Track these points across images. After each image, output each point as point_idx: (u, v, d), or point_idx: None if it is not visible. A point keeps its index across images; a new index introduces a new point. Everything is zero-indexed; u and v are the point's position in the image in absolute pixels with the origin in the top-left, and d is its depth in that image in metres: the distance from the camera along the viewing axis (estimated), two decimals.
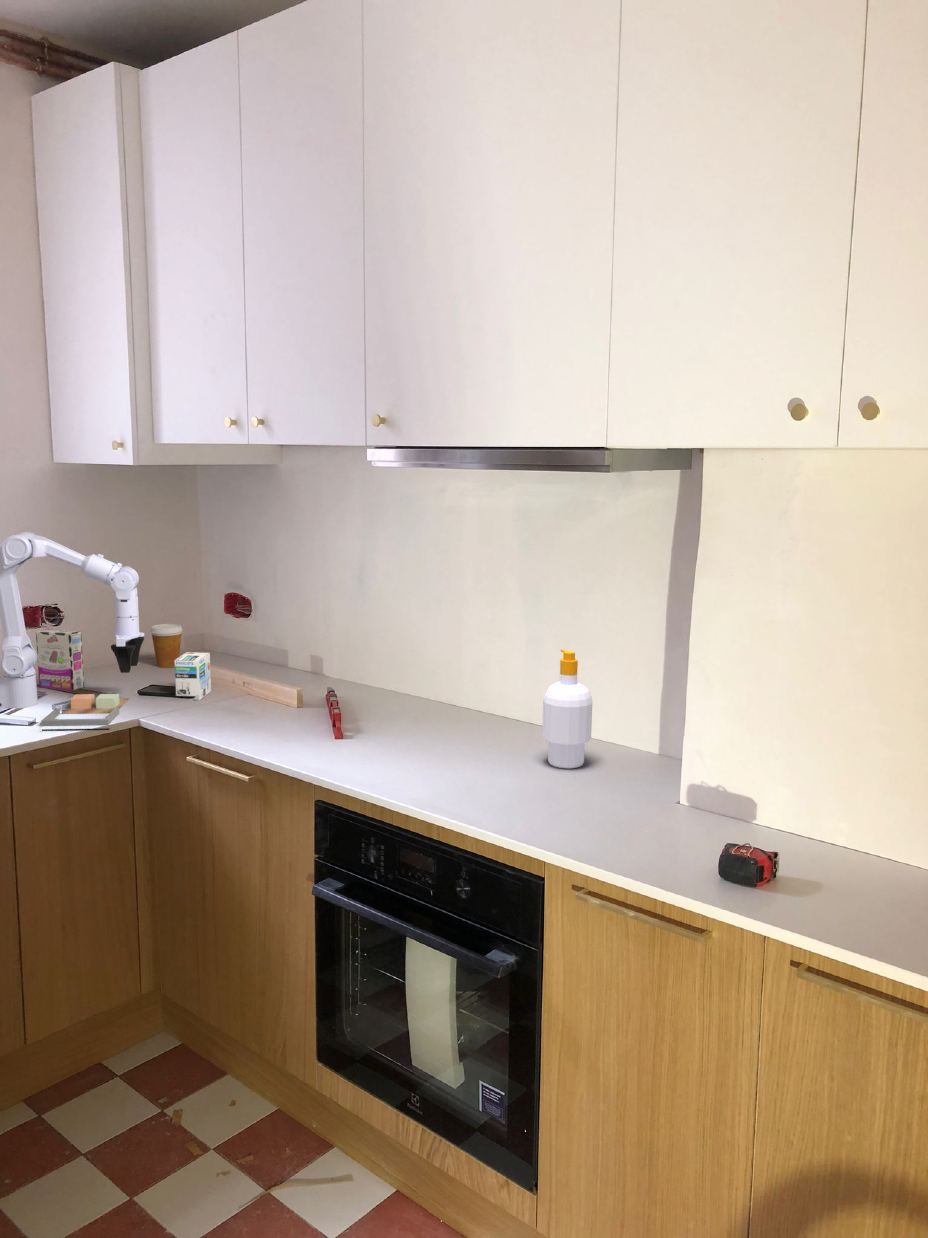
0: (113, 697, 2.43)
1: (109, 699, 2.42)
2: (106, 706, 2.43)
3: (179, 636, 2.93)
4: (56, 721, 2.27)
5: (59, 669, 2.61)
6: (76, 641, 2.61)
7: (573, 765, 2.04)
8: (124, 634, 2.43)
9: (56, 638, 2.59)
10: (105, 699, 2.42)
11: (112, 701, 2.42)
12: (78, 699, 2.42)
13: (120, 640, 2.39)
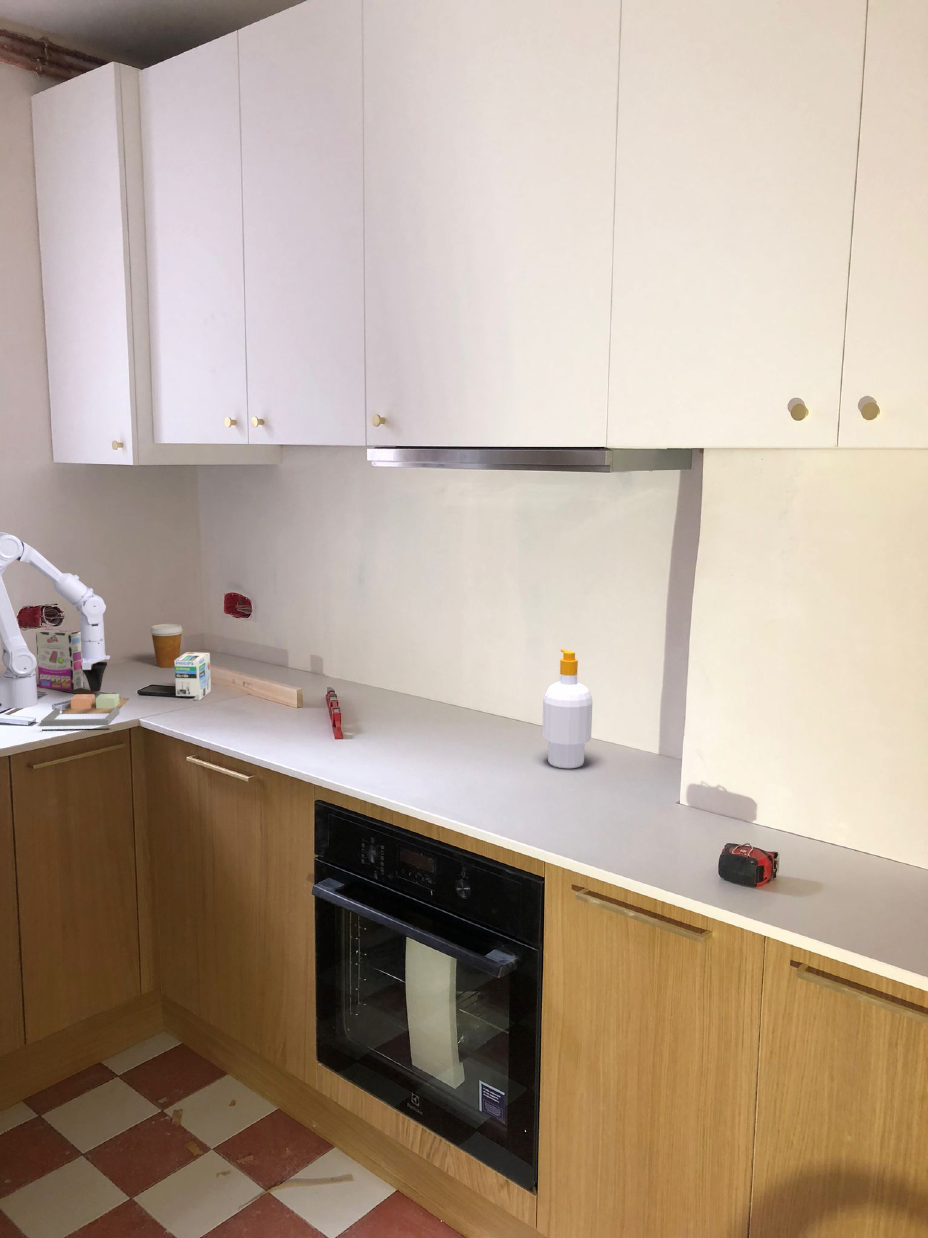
0: (113, 697, 2.43)
1: (109, 699, 2.42)
2: (106, 706, 2.43)
3: (179, 636, 2.93)
4: (56, 721, 2.27)
5: (59, 669, 2.61)
6: (76, 641, 2.61)
7: (573, 765, 2.04)
8: (90, 657, 2.51)
9: (56, 638, 2.59)
10: (105, 699, 2.42)
11: (112, 701, 2.42)
12: (78, 699, 2.42)
13: (86, 664, 2.47)
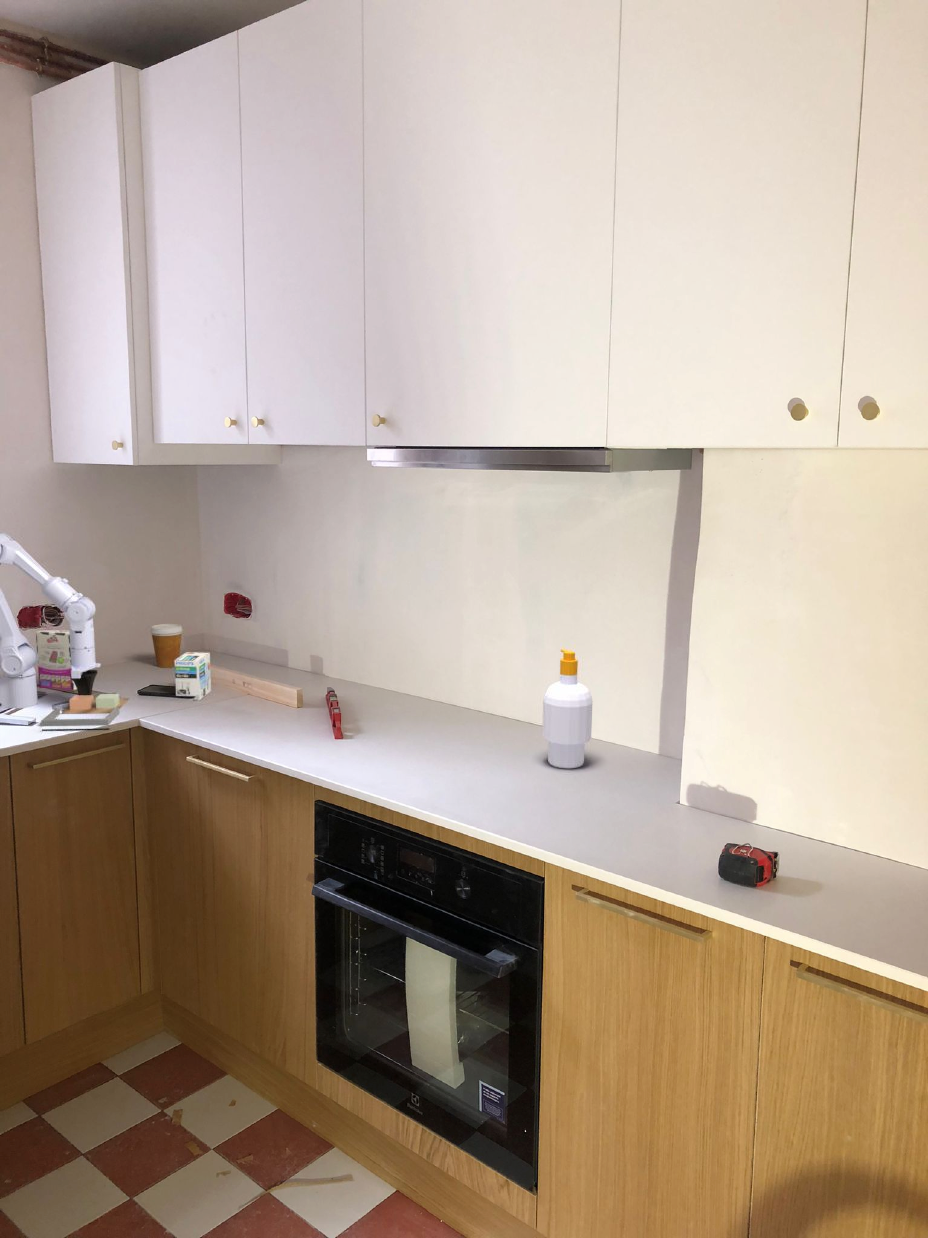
0: (113, 697, 2.43)
1: (109, 699, 2.42)
2: (106, 706, 2.43)
3: (179, 636, 2.93)
4: (56, 721, 2.27)
5: (59, 669, 2.61)
6: None
7: (573, 765, 2.04)
8: (80, 665, 2.42)
9: (56, 638, 2.59)
10: (105, 699, 2.42)
11: (112, 701, 2.42)
12: (77, 700, 2.41)
13: (75, 672, 2.38)
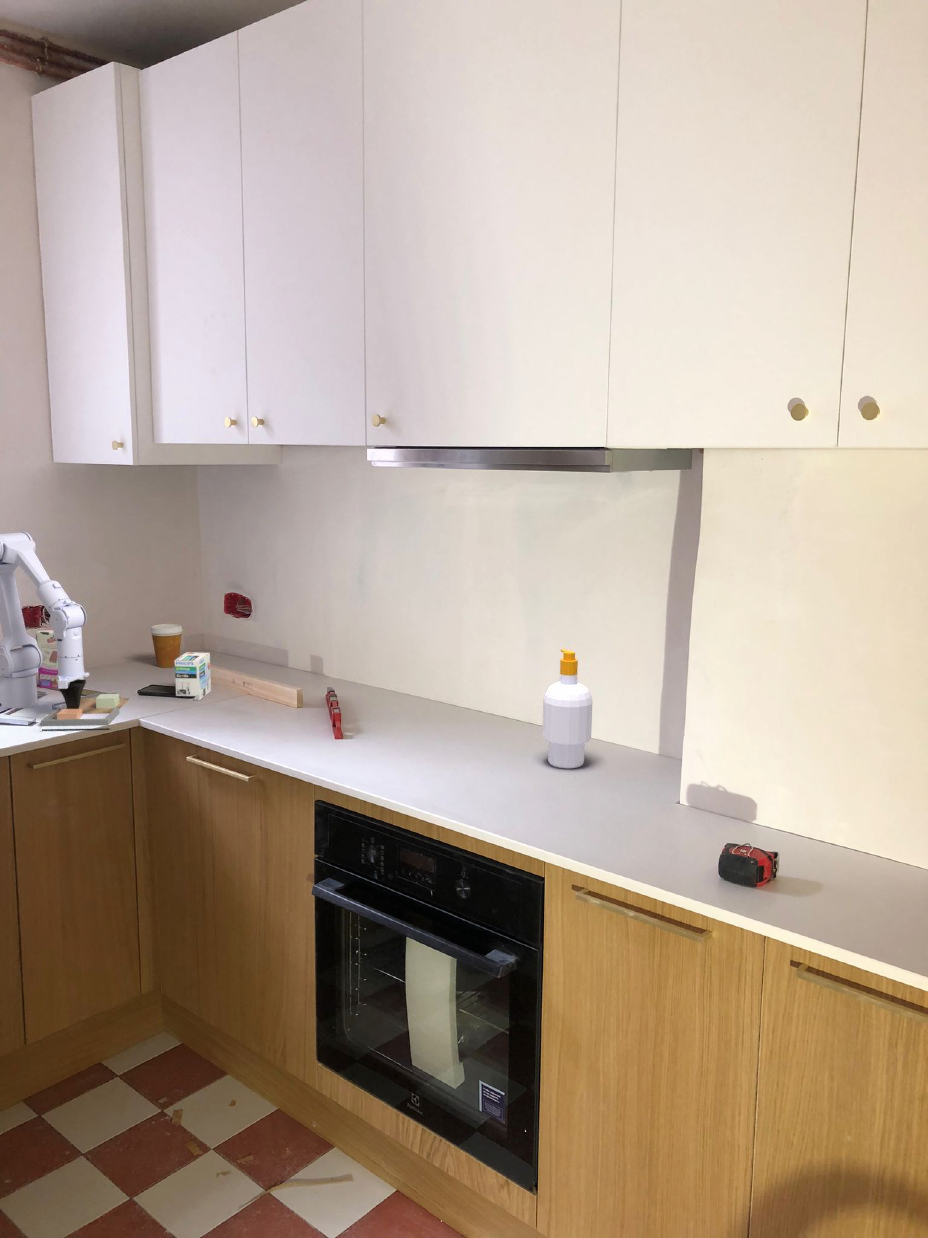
0: (113, 697, 2.43)
1: (109, 699, 2.42)
2: (106, 706, 2.43)
3: (179, 636, 2.93)
4: (56, 721, 2.27)
5: None
6: None
7: (573, 765, 2.04)
8: (67, 675, 2.32)
9: None
10: (105, 699, 2.42)
11: (112, 701, 2.42)
12: (65, 714, 2.31)
13: (62, 682, 2.28)
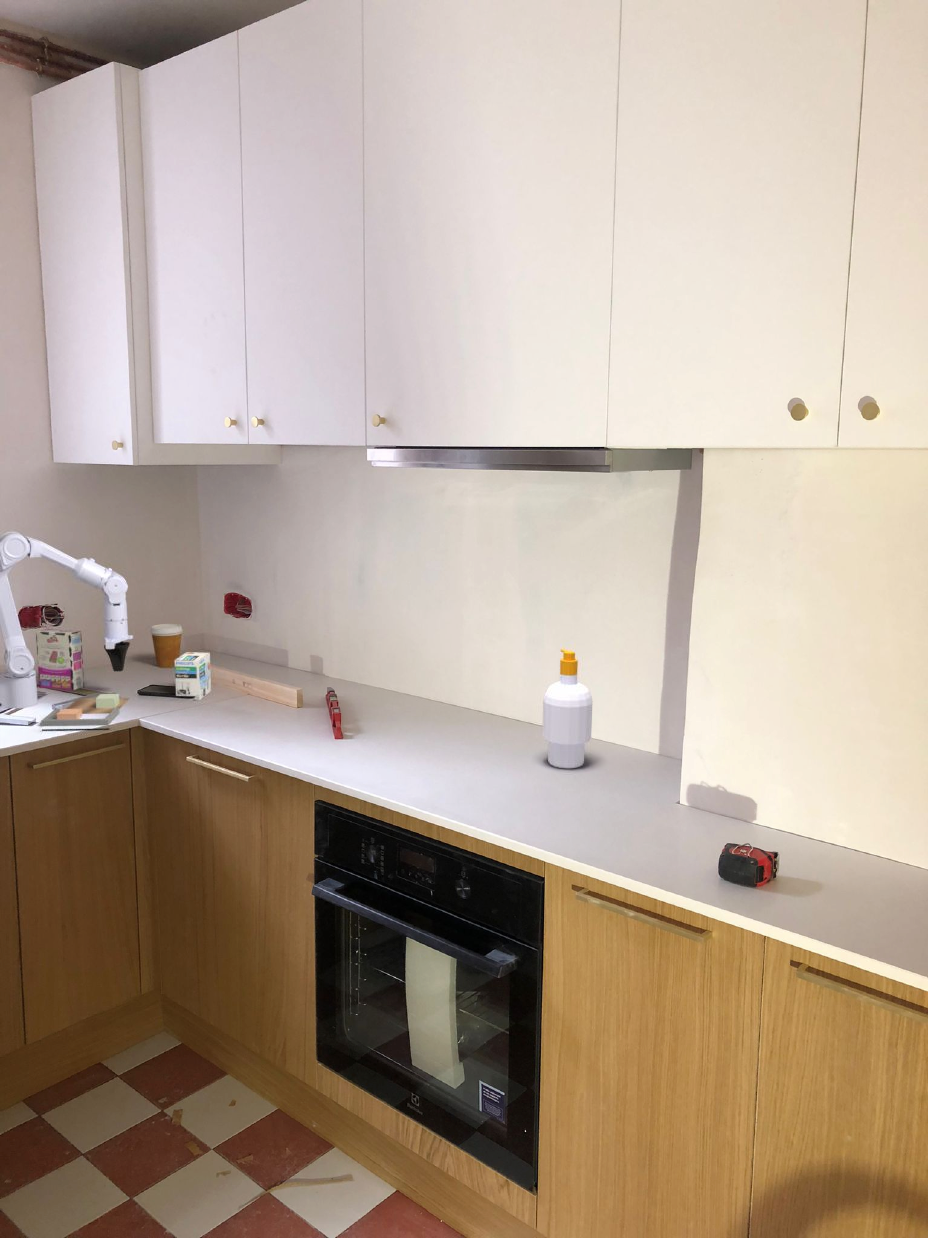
0: (113, 697, 2.43)
1: (109, 699, 2.42)
2: (106, 706, 2.43)
3: (179, 636, 2.93)
4: (56, 721, 2.27)
5: (59, 669, 2.61)
6: (76, 641, 2.61)
7: (573, 765, 2.04)
8: (113, 637, 2.51)
9: (56, 638, 2.59)
10: (105, 699, 2.42)
11: (112, 701, 2.42)
12: (64, 714, 2.31)
13: (109, 643, 2.46)
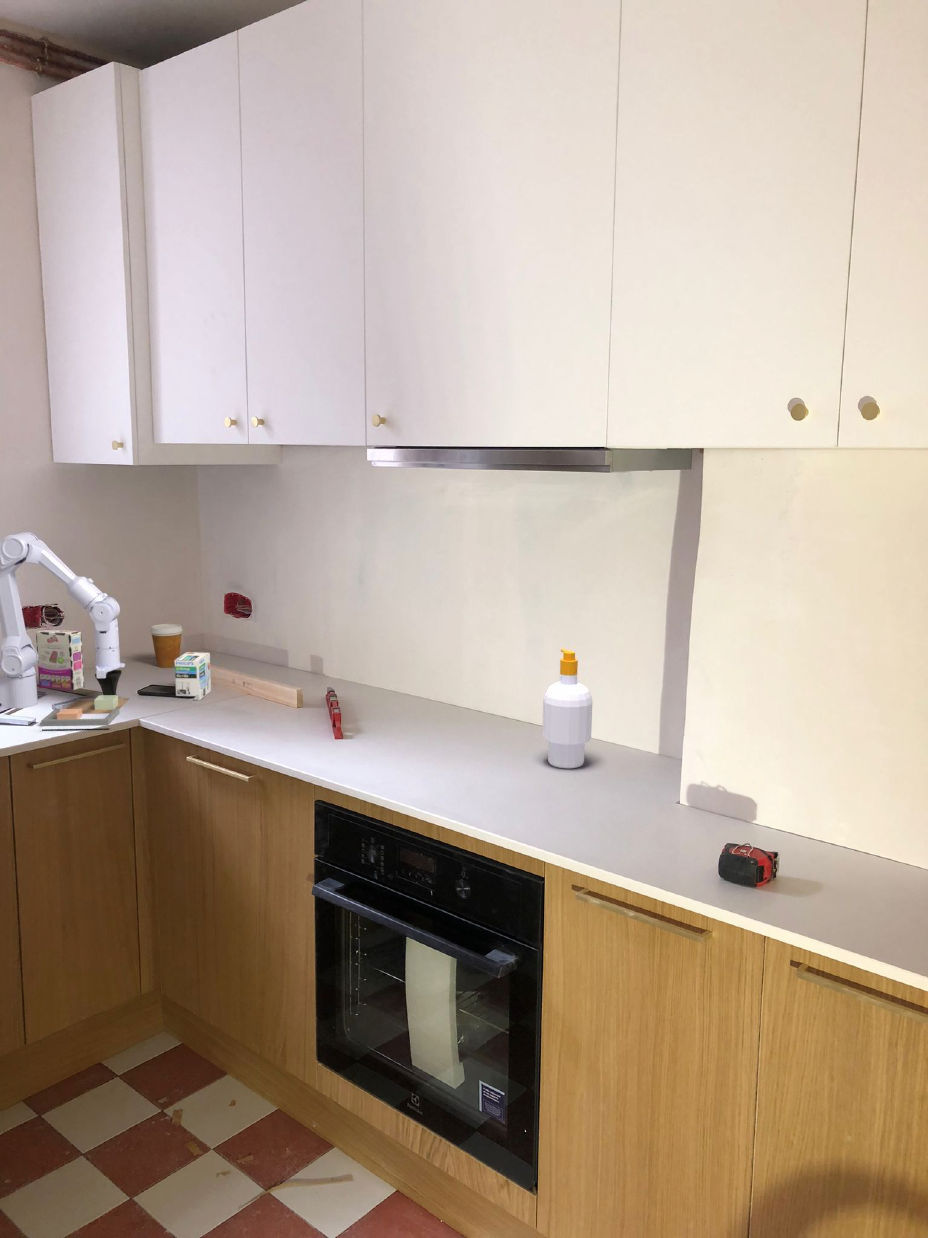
0: (112, 698, 2.42)
1: (108, 700, 2.41)
2: (105, 707, 2.41)
3: (179, 636, 2.93)
4: (56, 721, 2.27)
5: (59, 669, 2.61)
6: (76, 641, 2.61)
7: (573, 765, 2.04)
8: (104, 665, 2.42)
9: (56, 638, 2.59)
10: (104, 700, 2.41)
11: (111, 702, 2.41)
12: (64, 714, 2.31)
13: (100, 672, 2.38)
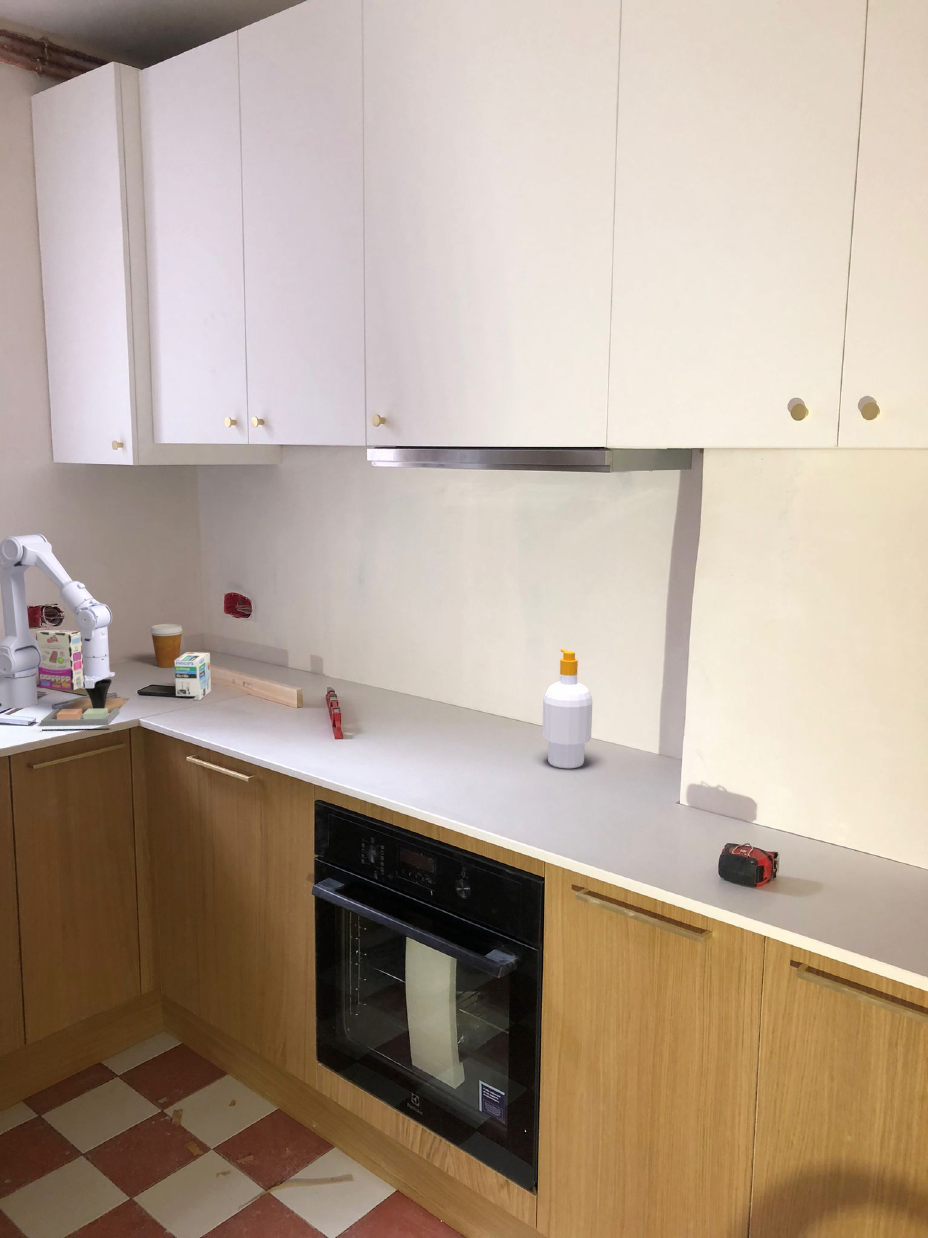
0: (101, 712, 2.33)
1: (97, 714, 2.32)
2: None
3: (179, 636, 2.93)
4: (56, 721, 2.27)
5: (59, 669, 2.61)
6: (76, 641, 2.61)
7: (573, 765, 2.04)
8: (93, 675, 2.32)
9: (56, 638, 2.59)
10: (93, 714, 2.32)
11: (100, 716, 2.32)
12: (64, 714, 2.31)
13: (89, 682, 2.28)
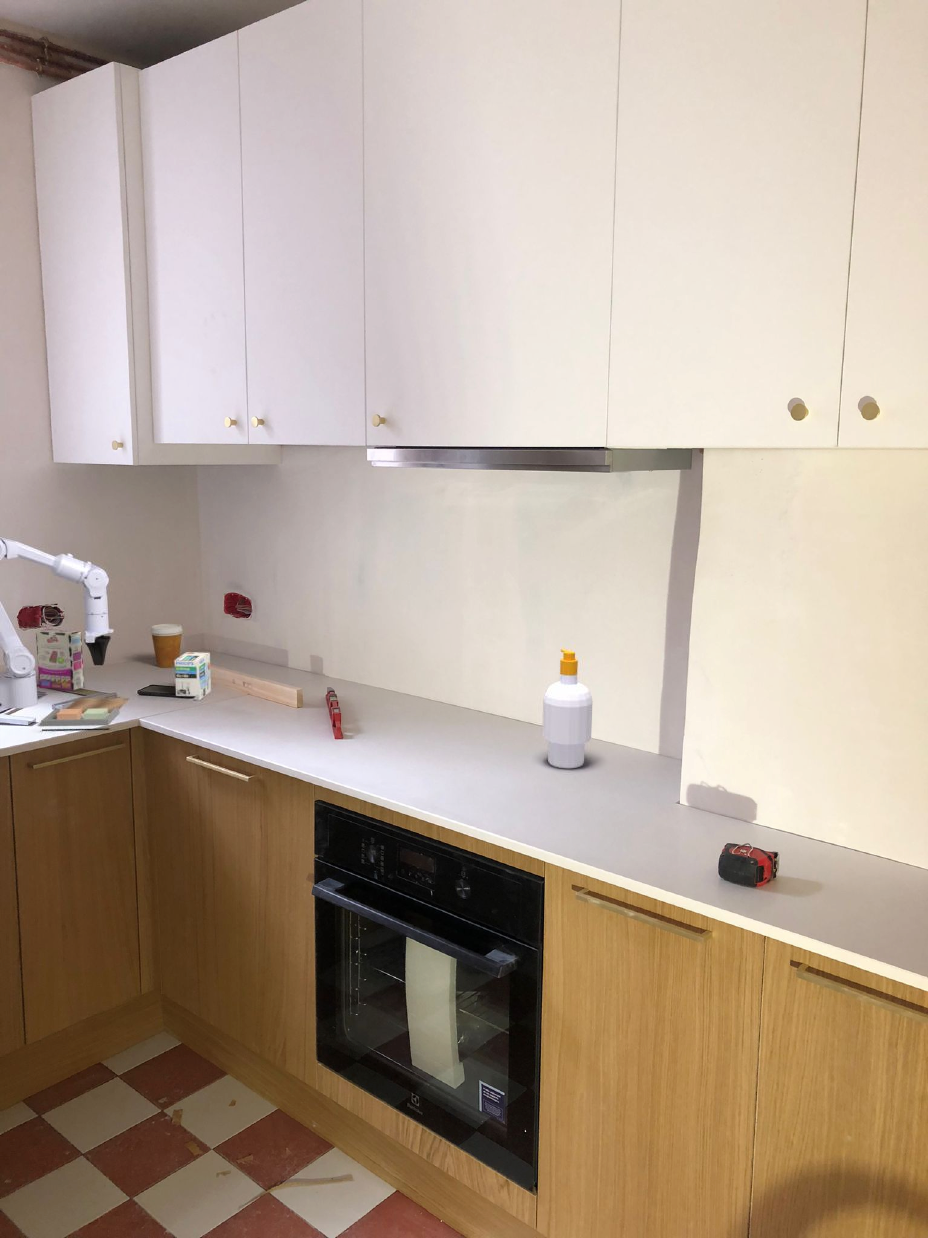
0: (101, 712, 2.32)
1: (97, 714, 2.32)
2: None
3: (179, 636, 2.93)
4: (56, 721, 2.27)
5: (59, 669, 2.61)
6: (76, 641, 2.61)
7: (573, 765, 2.04)
8: (93, 631, 2.49)
9: (56, 638, 2.59)
10: (93, 714, 2.31)
11: (100, 716, 2.32)
12: (64, 714, 2.31)
13: (89, 636, 2.45)
